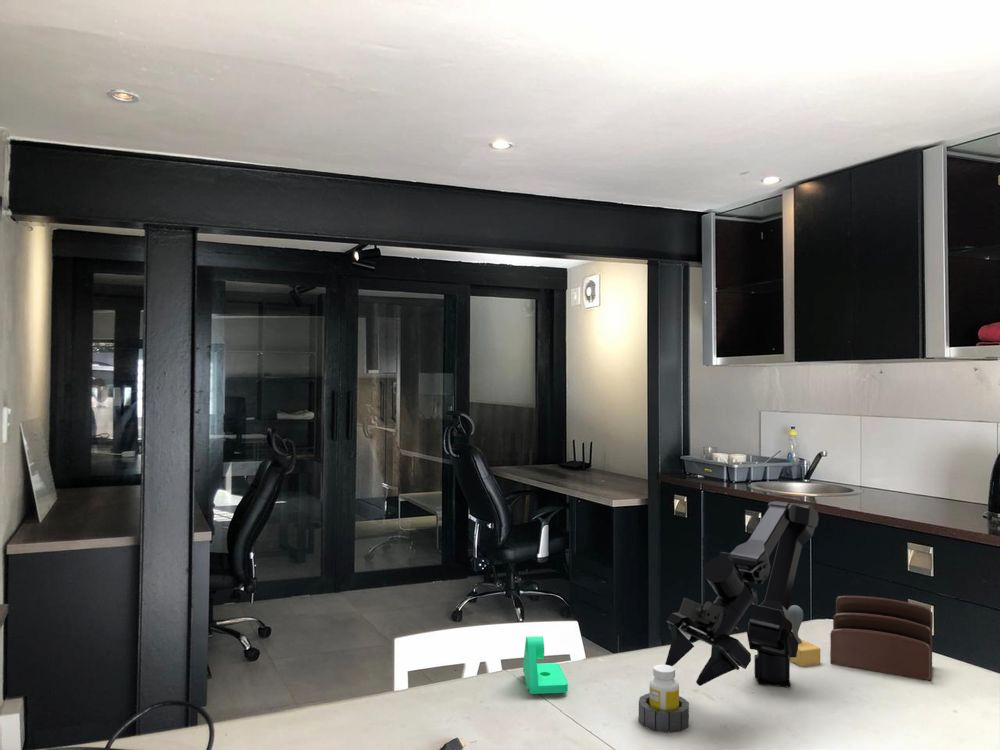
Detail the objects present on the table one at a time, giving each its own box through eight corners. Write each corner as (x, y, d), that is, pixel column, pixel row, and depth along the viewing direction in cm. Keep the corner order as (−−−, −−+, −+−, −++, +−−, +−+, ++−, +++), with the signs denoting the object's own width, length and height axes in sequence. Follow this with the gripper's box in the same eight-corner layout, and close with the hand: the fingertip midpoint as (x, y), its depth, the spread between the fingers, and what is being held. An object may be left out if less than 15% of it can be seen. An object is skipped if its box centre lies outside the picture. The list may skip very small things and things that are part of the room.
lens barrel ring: (689, 714, 147) (689, 695, 147) (688, 735, 139) (688, 715, 139) (641, 708, 150) (641, 690, 150) (636, 728, 141) (637, 709, 141)
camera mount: (568, 697, 155) (568, 646, 155) (530, 699, 154) (531, 647, 154) (558, 675, 167) (558, 627, 167) (523, 676, 166) (523, 628, 166)
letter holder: (835, 651, 183) (836, 590, 183) (932, 667, 172) (932, 603, 173) (829, 664, 174) (830, 601, 174) (931, 682, 164) (931, 615, 164)
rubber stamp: (770, 652, 181) (770, 600, 181) (790, 649, 183) (791, 598, 183) (800, 667, 172) (800, 612, 172) (821, 664, 174) (821, 610, 174)
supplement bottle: (680, 717, 146) (681, 665, 146) (677, 729, 141) (677, 675, 141) (651, 713, 148) (651, 661, 148) (647, 725, 143) (647, 671, 143)
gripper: (674, 571, 157) (628, 634, 152) (738, 595, 140) (689, 667, 135) (705, 605, 160) (661, 668, 155) (772, 633, 143) (724, 704, 139)
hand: (682, 675), depth 146 cm, fingers open, 9 cm apart
